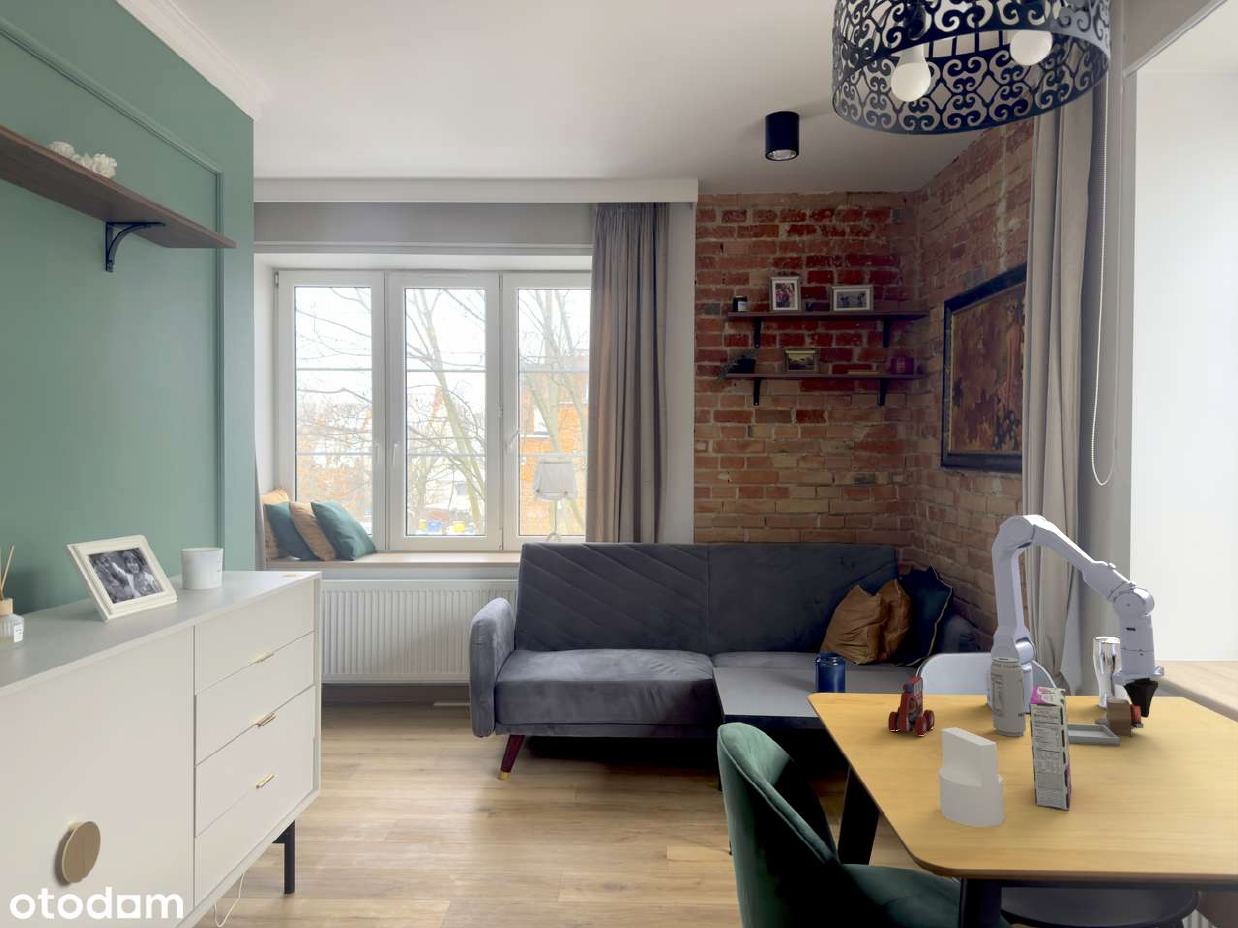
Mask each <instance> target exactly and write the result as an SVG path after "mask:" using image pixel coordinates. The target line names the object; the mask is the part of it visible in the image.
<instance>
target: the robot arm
mask: <svg viewBox="0 0 1238 928" xmlns="http://www.w3.org/2000/svg"><path fill="white" fill-rule="evenodd" d="M1030 546H1036V547H1044V548H1048V549H1051V550H1052V551H1054V552H1055V553H1056V554H1058V556H1060V557H1061V558H1063V559H1064V560H1065V561H1067V562H1068V563H1070V564H1071V565H1072V566H1073V567H1075V568H1076V569H1077V570H1079V571H1080V572H1081V573H1082V579H1083V582H1085V583H1086V585H1088V586H1089V587H1090V588H1091V589H1093V590H1094V591H1095V592H1096V593H1098V595H1100V596H1101V597H1103V598H1104V599H1105V600H1106V601H1107V602H1109V603H1112V604H1111V607H1112V608H1113V610H1114V612H1115V614H1116V615H1117V616H1118V634H1119V638H1120V652H1121V667H1122V668H1121V669H1120V670H1119V671H1118V672H1117V673H1115V674H1112V678H1113V684H1116V685H1121V686H1123V687H1124V689H1125V690H1126V692H1127V697H1128V699H1130V704H1138V705H1141V718H1144V719H1146V718H1149V715H1150V709H1151V704H1152V700H1153V697H1154V694H1155V692H1156V691H1157V689H1158V687H1159V681H1157V680H1153V679H1151V678H1156V679H1158V678H1163V677H1165V667H1164V666H1161V665H1157V664H1156V661H1155V647H1154V646H1155V645H1154V632H1153V625H1152V624H1153V623H1152V614H1151V612H1152V611H1153V610H1154V608H1155V599H1154V597H1153V595H1152V594H1151V593H1150V592H1149V591H1148V590H1147V589H1146V588H1144V587H1140V586H1137V583H1136V582H1135V581H1133V580H1131V581H1130V580H1128V579H1127V578H1125V577H1124V576H1123V575H1122V574H1121V573H1120V572H1118V571H1117V570H1116V569H1117V567H1116V565H1114V564H1113V563H1107V562H1105V561H1102V560H1100V561H1095V560H1094V559H1092V558H1091V557H1090V556H1089V555H1088V554H1087V553H1086V552H1085V551H1084V550H1082V549H1081V548H1080V547H1079V546H1078V545H1077V544H1076V543H1074V542H1073V541H1072V540H1071V539H1070V538H1068V537H1067V536H1066V535H1065V534H1064V533H1063V532H1062V531H1060V530H1059V528H1058V527H1057V526H1056V525H1055V524H1053V523H1051V522H1050V521H1047V519H1046V518H1044V517H1043V516H1042V515H1039V514H1037V513H1036V514H1035V513H1032V514H1030V513H1029V514H1027V515H1026V514H1025V515H1013V516H1009V517H1008V518H1006V520H1005V521H1003V522H1002V523H1001V524H1000V525H999V531H998V533H997V536H996V538H995V540H994V542H993V543H992V546H991V559H992V571H993V580H994V581H993V582H994V591H995V601H996V613H997V624H998V626H997V628H996V630H995V632H994V634H993V645H992V647H991V650H990V657H991V660H992V661H993V658H994V657H999V656H1006V657H1014V658H1018V659H1019V662H1020V664H1021V666H1022V667H1023V677H1024V697H1025V714H1030V709H1029V701H1030V698H1031V695H1032V692H1033V688H1034V681H1033V680H1034V677H1033V667H1032V662H1033V661H1034V660H1035V658H1036V654H1037V650H1036V646H1035V645H1034V643H1033V642H1032V639H1031V638H1032V637H1031V633H1030V631H1029V629H1028V628H1027V626H1026V625H1025V616H1024V606H1023V595H1022V585H1021V575H1020V564H1019V563H1020V562H1019V557H1020V555H1021V554H1022V553H1023V552H1024V551H1026V550H1027V549H1028V548H1029V547H1030ZM985 680H986V681H985V682H986V685H985V686H986V703H987V705H988V706H989V708H990V709H991V710H992V690H991V669H990V668H989V667H988V668H986V672H985Z"/></svg>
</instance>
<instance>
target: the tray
mask: <svg viewBox="0 0 1238 928" xmlns="http://www.w3.org/2000/svg"><path fill="white" fill-rule="evenodd" d="M1067 728H1068V743H1069V744H1085V745H1104V746H1120V745H1121V743H1120V738H1119V737H1120V736H1116V735H1115V734H1114V733H1113V732H1112V731H1111V730H1110V729H1108V727H1106V726H1105V725H1098V724H1093V723H1092V724H1089V723H1069V722H1067Z"/></svg>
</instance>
